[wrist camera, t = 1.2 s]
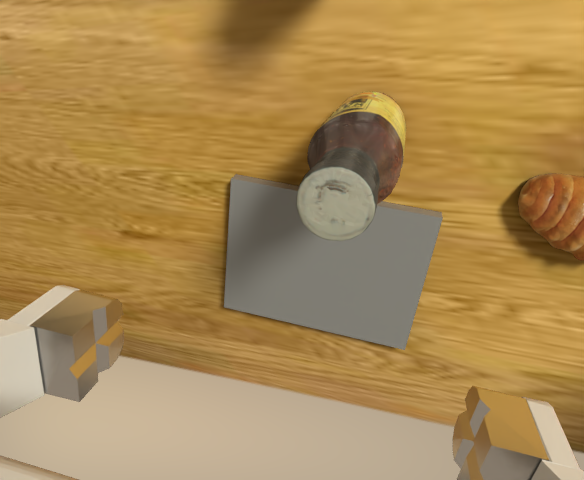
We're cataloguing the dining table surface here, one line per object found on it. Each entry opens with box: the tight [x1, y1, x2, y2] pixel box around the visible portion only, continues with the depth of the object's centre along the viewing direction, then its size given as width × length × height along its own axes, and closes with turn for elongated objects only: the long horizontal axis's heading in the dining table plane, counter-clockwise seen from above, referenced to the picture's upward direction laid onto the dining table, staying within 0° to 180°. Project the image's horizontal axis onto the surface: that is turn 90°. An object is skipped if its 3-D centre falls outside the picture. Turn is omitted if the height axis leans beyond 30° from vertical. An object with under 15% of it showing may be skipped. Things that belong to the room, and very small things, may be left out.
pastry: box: [518, 173, 584, 260], centre depth 36 cm, size 9×7×4 cm
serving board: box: [224, 174, 442, 350], centre depth 44 cm, size 20×15×2 cm
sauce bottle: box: [296, 91, 406, 241], centre depth 30 cm, size 7×6×20 cm
